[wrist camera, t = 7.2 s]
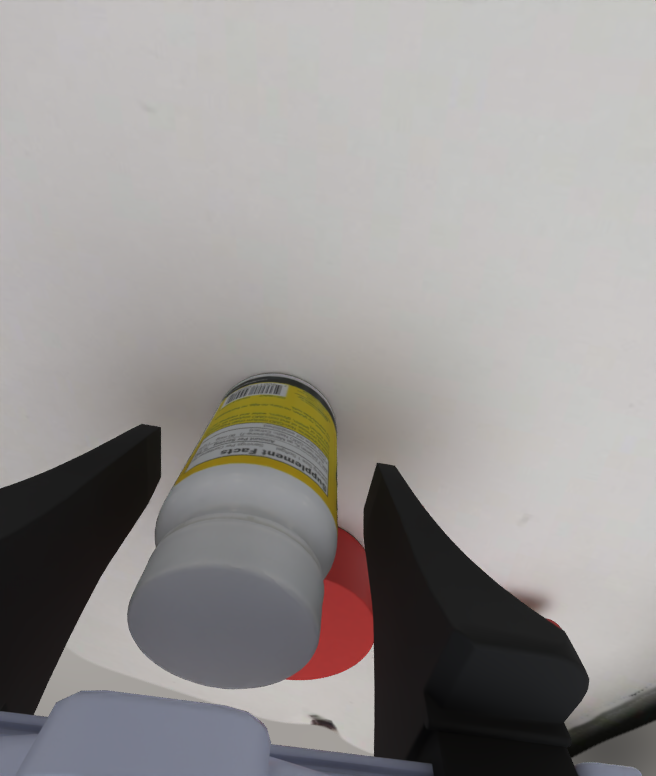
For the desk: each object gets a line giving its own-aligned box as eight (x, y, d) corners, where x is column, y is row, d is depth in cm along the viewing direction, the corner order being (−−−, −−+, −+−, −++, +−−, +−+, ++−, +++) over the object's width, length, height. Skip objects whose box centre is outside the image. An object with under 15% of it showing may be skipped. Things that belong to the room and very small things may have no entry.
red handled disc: (222, 607, 20) (204, 669, 18) (232, 505, 17) (213, 561, 15) (519, 649, 21) (546, 714, 19) (577, 559, 18) (619, 621, 16)
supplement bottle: (294, 491, 17) (259, 724, 9) (197, 435, 16) (68, 649, 8) (362, 413, 15) (386, 621, 8) (258, 345, 14) (167, 510, 7)
